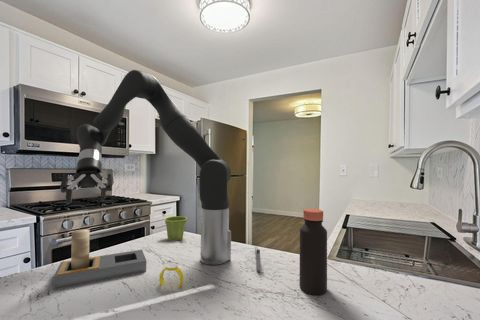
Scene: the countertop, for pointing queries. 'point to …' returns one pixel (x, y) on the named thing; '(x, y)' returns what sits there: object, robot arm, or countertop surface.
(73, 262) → the peg
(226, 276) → the countertop surface
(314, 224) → the bottle
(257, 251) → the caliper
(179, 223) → the plant pot
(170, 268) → the watch
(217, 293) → the countertop surface
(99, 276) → the base plate
